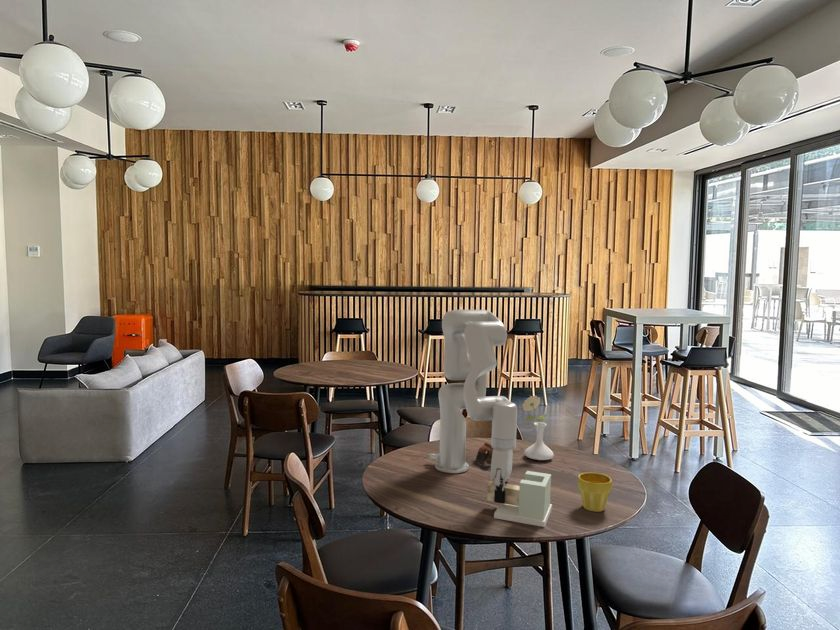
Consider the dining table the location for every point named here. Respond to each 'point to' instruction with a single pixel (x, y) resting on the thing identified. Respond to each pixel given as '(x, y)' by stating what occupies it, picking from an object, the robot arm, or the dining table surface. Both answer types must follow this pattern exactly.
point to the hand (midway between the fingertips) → (501, 499)
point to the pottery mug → (484, 454)
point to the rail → (510, 493)
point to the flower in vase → (538, 448)
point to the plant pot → (594, 490)
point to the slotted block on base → (529, 501)
